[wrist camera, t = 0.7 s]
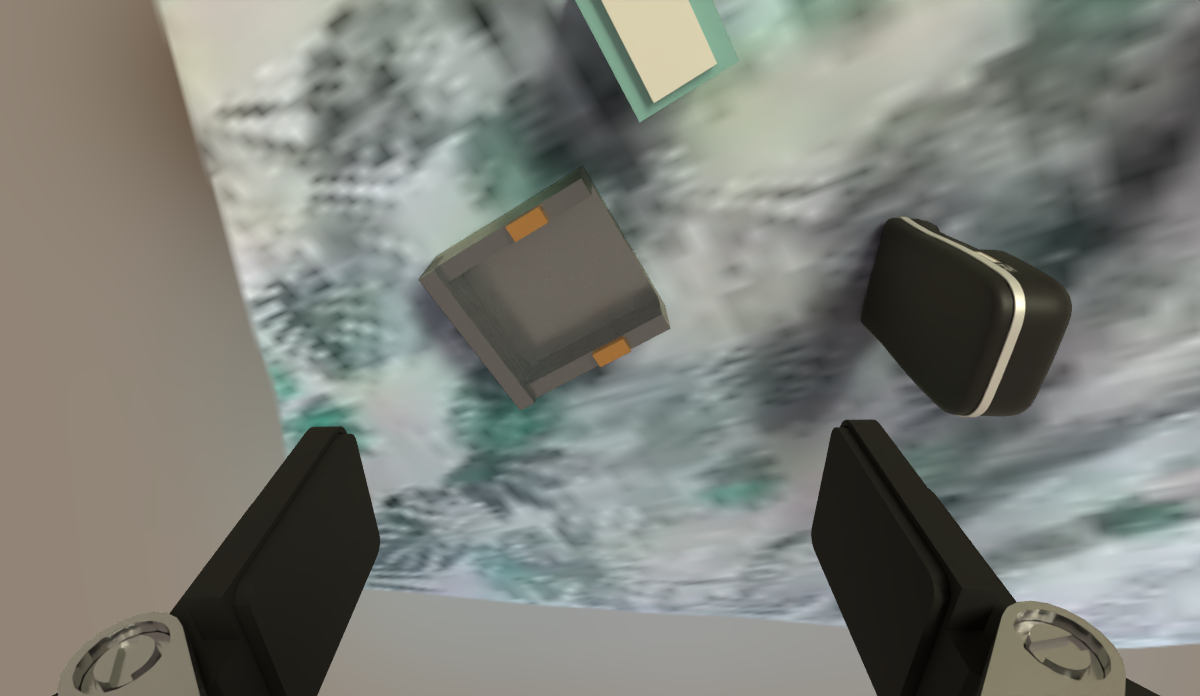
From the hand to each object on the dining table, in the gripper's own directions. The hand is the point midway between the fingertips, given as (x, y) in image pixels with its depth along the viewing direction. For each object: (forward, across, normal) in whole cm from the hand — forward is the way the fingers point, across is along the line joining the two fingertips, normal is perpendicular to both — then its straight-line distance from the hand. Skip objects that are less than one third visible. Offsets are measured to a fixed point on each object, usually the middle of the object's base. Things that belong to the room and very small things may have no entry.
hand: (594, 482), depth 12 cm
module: (+24, -2, -9) cm, 25 cm away
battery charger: (+24, -18, +4) cm, 30 cm away
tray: (+24, +3, +5) cm, 24 cm away
